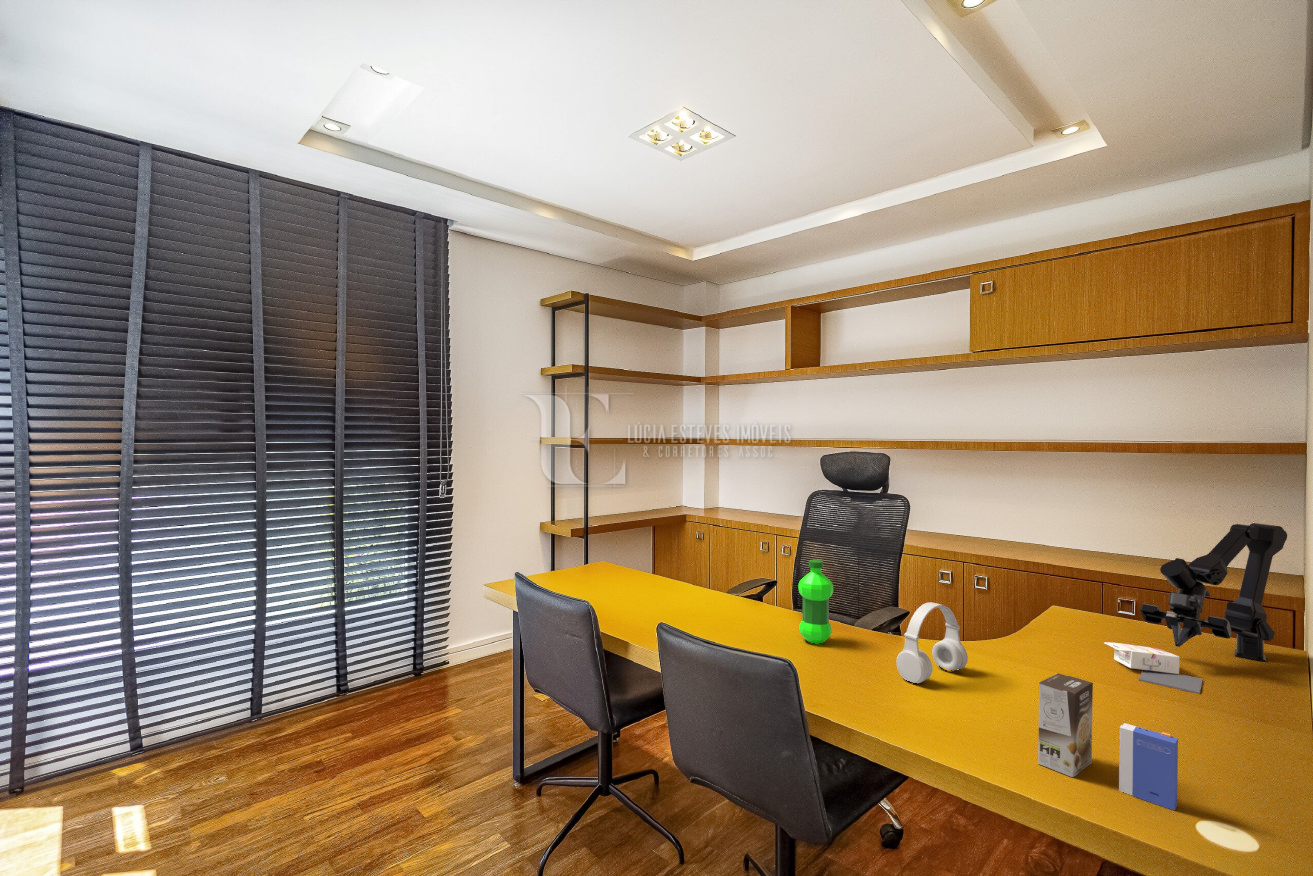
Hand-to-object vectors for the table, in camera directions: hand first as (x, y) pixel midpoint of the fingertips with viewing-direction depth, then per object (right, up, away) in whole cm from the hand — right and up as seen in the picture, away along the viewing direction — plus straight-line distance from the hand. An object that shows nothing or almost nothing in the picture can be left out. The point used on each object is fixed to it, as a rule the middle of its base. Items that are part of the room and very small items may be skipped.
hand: (1177, 645), depth 166 cm
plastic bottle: (-93, -7, +24) cm, 96 cm away
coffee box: (-62, -7, -47) cm, 78 cm away
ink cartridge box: (0, -5, +1) cm, 5 cm away
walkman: (-55, -7, -58) cm, 80 cm away
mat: (-6, -7, -5) cm, 11 cm away
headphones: (-68, -7, -3) cm, 69 cm away
